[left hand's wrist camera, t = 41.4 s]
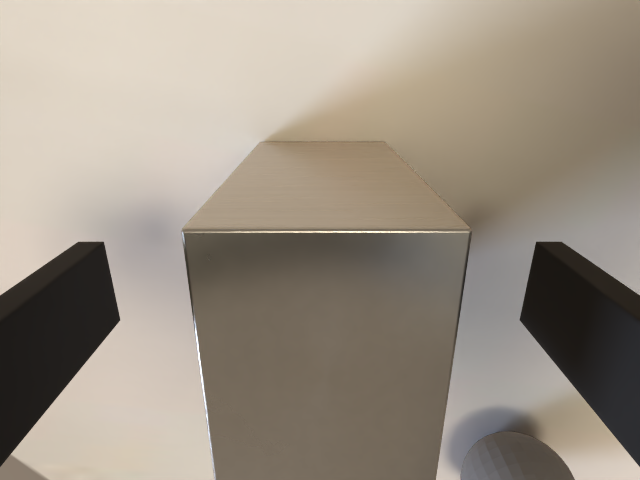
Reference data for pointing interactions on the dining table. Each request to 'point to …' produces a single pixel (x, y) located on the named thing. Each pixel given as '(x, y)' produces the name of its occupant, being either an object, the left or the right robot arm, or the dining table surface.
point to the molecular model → (513, 459)
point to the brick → (325, 314)
